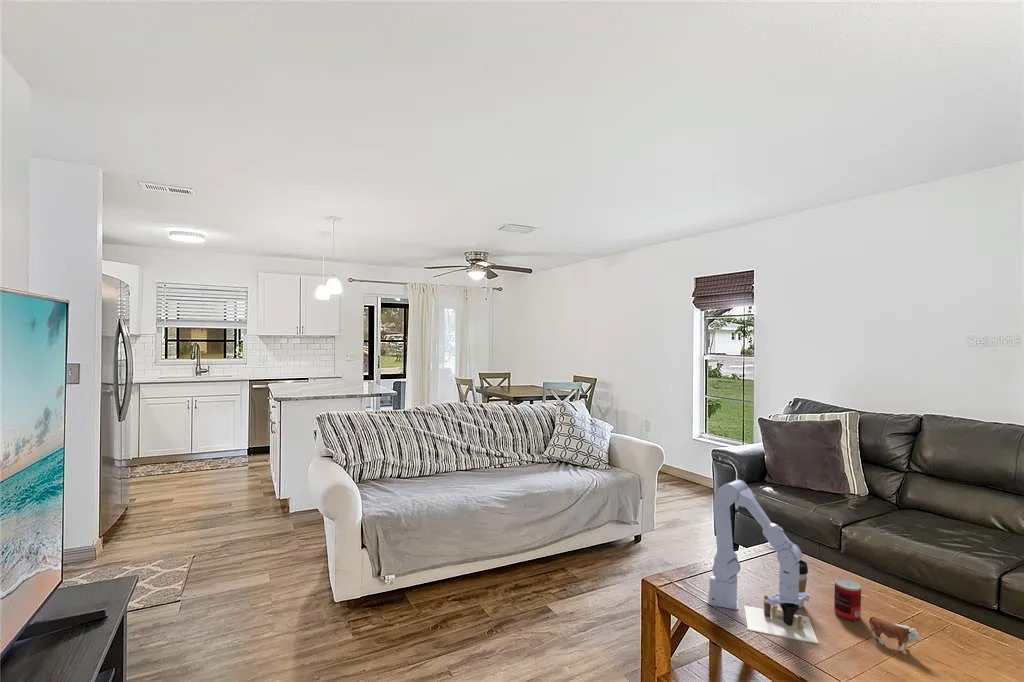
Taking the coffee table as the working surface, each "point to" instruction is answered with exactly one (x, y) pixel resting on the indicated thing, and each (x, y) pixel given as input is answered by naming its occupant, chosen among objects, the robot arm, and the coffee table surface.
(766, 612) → the wooden pieces
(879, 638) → the bull figurine
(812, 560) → the coffee table surface
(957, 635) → the coffee table surface
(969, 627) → the coffee table surface
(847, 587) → the canned food
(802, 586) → the coffee cup
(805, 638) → the card
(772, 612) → the fence panel
